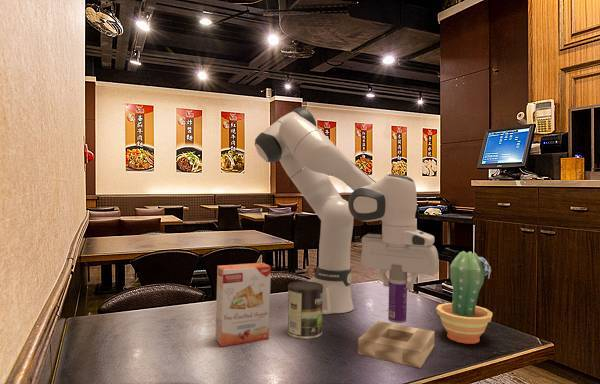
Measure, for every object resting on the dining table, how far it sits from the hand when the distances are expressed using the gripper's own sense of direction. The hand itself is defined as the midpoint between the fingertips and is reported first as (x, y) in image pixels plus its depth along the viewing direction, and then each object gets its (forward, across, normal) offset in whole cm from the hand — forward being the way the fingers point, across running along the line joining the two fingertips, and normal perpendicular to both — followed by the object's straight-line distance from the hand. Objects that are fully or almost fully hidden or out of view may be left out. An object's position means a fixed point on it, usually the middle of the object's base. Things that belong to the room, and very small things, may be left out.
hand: (398, 287), depth 110 cm
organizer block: (+17, 0, 0) cm, 17 cm away
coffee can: (+17, -27, -2) cm, 32 cm away
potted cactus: (+17, +14, +19) cm, 29 cm away
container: (+9, 0, 0) cm, 9 cm away
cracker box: (+17, -39, -16) cm, 45 cm away
